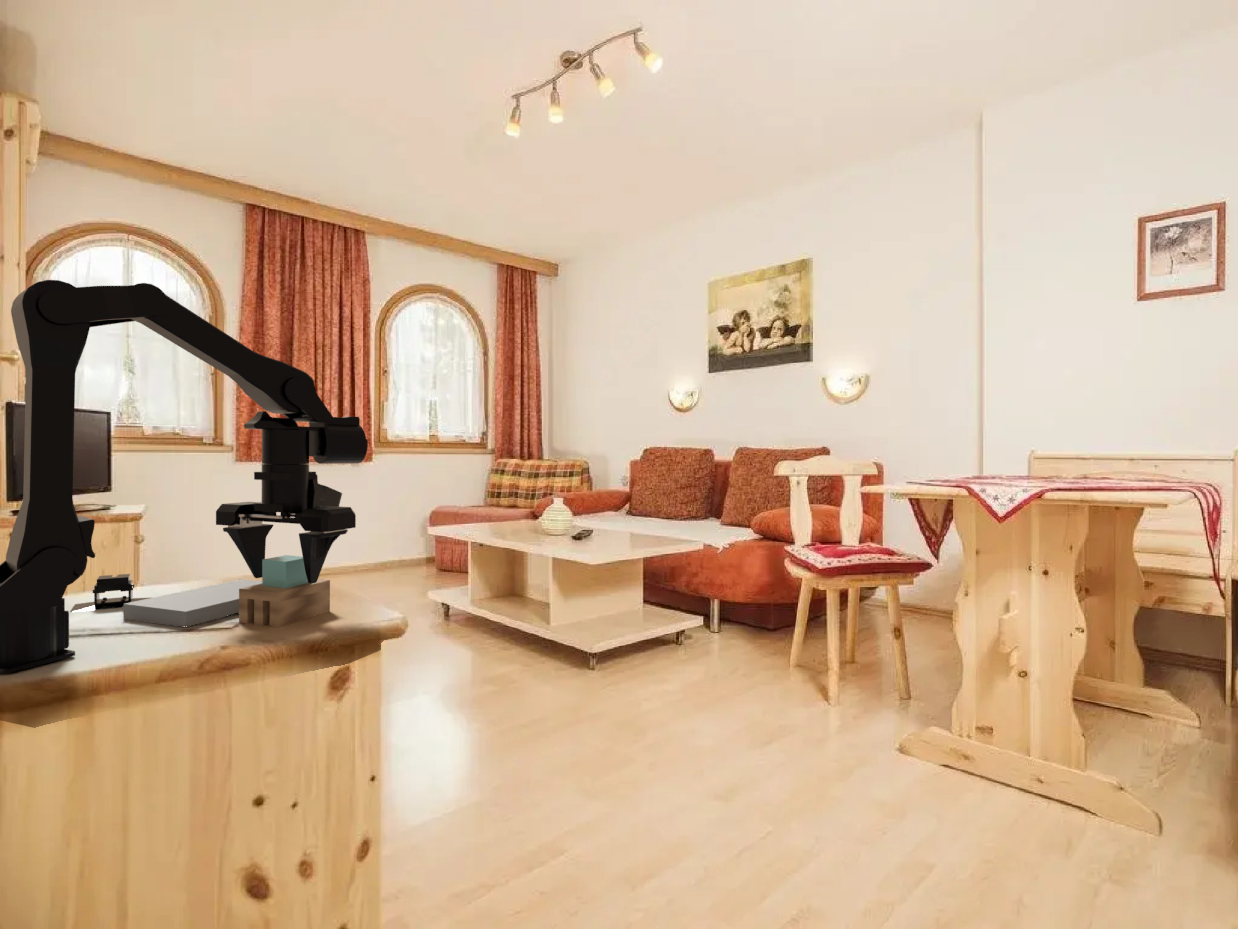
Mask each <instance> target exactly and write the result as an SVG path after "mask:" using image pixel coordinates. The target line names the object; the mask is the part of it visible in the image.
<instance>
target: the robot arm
mask: <svg viewBox="0 0 1238 929" xmlns="http://www.w3.org/2000/svg"><path fill="white" fill-rule="evenodd" d="M10 315H11V320H12V324H13V329H14V334H15V338H16V343H17V346H18V350H19V352H20V355H21V359H22V361H23V365H24V369H25V395H24V396H25V399H24V400H25V401H24V402H25V404H24V405H25V406H24V443H23V445H24V447H23V451H24V453H23V486H22V487H23V489H22V490H23V491H22V492H23V494H22V495H23V497H22V502H21V505H20V508H19V510H18V513H17V516H16V519H15V521H14V524H13V527H12V530H11V534H10V538H9V542H8V547H7V550H6V555H5V560H4V561H3V562H1V563H0V674H10V673H14V672H19V671H22V670H26V669H30V668H34V667H38V666H42V665H45V664H49V663H53V662H56V661H57V662H58V661H61V660H64V659H67V658H72V657H75V656H76V651H75V650H71V649H68V648H69V647H70V611H69V610H67V609H66V608H65V607H66V606H65V605H66V602H65V600H66V599H65V598H64V595H65V592H66V590H67V588H68V586H69V585H71V584H73V583H74V582H76V581H77V580H79V578H80V577H82V576H83V575H84V573H85V571H86V569H87V565H88V557H89V558H91V559H94V558H96V554H95V552H94V550H93V546H92V540H93V534H94V531H95V519H93V518H88V517H85V516H84V515H77V511H76V508H75V506H74V505H75V504H74V500H73V496H74V495H73V493H74V492H73V491H74V488H73V486H74V484H73V483H74V446H75V445H74V444H75V443H74V442H75V438H74V437H75V402H76V400H75V398H76V372H77V369H78V365H79V363H80V360H81V357H82V354H83V352H84V349H85V346H86V344H87V339H88V335H89V331H90V328H94V327H102V326H107V325H110V326H111V325H115V324H121V323H122V324H123V323H131V322H132V323H133V322H137V323H138V324H141V325H143V326H145V327H146V328H147V329H150V330H151V331H153V332H155V333H156V334H157V335H159V336H161V337H162V338H165V339H166V340H168V341H169V342H171V343H173V344H174V345H176V346H177V347H180V348H181V349H183V350H185V351H186V352H188V353H190V354H191V355H193V356H194V357H196V358H197V359H199V360H200V361H202V362H204V363H206V364H208V365H209V366H211V367H213V368H214V369H216V370H218V371H219V372H221V373H222V374H224V375H225V376H227V377H229V378H230V379H231V380H232V381H233V382H234V383H235V384H237V386H239V388H240V389H241V390H242V392H244V394H245V395H246V396H248V398H250V399H251V400H252V401H254V402H255V403H256V404H257V405H258V406H259V407H261V409H263V410H261V411H257V412H256V414H255V415H254V416H253V417H252V418H251V419H249V420H248V421H247V422H245V423H244V424H243V428H244V429H246V430H261V471H254V472H253V476H254V477H253V478H254V479H253V480H255V481H256V480H257V481H261V501H242V502H232V503H231V502H230V503H222V504H221V505H219V507H218V508H217V509H216V510H215V525H216V526H226V527H223V528H222V531H223V532H225V533H227V534H228V537H229V538H231V540H232V542H233V543H234V545H235V547H236V548H237V550H238V551H239V552H240V554H241V556H242V558H243V560H244V562H245V563H246V565H247V567H248V569H249V570H250V572H251V574H252V576H253V577H254V579H262V560H263V559H266V543H267V542H266V540H267V536H268V535H269V533H270V532H271V531H272V529H273V528H274V524H270V523H280V524H294V525H295V524H297V525H300V526H301V528H302V529H303V531H305V532H300V533H298V538H299V543H300V544H299V545H300V548H301V555H302V557H303V561H304V567H305V572H306V576H307V580H308V583H309V584H312V583H316V582H317V580H318V579H319V577H320V575H321V572H322V570H323V568H324V567H323V566H324V564H325V560H326V558H327V555H328V554H329V552H330V549H331V547H332V546H333V543H334V542H335V541H336V540H338V538H339V537H340V536H341V535H346V534H347V533H348V530H349V529H354V528H356V525H357V524H356V521H357V520H356V516H357V515H356V512H355V511H354V510H353V508H352V507H351V506H340V503H341V499H342V496H343V492H340V491H338V490H337V489H334V488H331V487H329V486H326V485H324V484H322V483H321V484H320V483H319V481H318V474H317V471H311V470H310V457H312V458H313V459H314V461H315V462H316V463H318V464H320V465H329V464H330V465H331V464H332V465H337V464H338V465H339V464H343V465H345V464H346V465H348V464H351V465H352V464H356V465H357V464H361V463H362V462H363V461H364V460H365V459H366V455H367V453H368V443H369V442H368V439H367V437H366V433H365V430H364V428H363V427H362V426H361V425H360V424H361V423H360V417H359V416H353V415H352V416H342V417H340V416H333V415H332V413H331V411H329V409H328V407H326V405H325V403H324V402H323V400H322V399H321V397H320V396H319V395H318V393H317V388H316V385H315V380H314V379H313V378H312V376H310V375H309V374H308V373H307V372H305V371H304V370H302V369H299V368H298V367H295V366H293V365H290V364H288V363H287V362H284V361H281V360H278V359H276V358H272V357H269V356H265V355H264V354H260V353H258V352H256V351H254V350H252V349H251V348H249V347H247V346H246V345H244V344H243V343H241V342H240V341H238V340H236V339H235V338H234V337H232V336H230V335H229V334H227V333H225V332H224V331H222V329H219V328H218V327H216V326H215V325H213V324H212V323H210V322H209V321H207V320H205V319H204V318H202V317H201V316H199V315H198V314H196V313H195V312H194V311H192V310H190V309H189V308H187V307H185V306H184V305H182V304H180V303H179V302H177V300H175V299H173V298H172V297H170V296H168V295H167V294H166V293H165V292H164V291H163V290H162V289H161V288H159V287H158V286H156V285H154V284H152V283H146V282H142V283H141V282H140V283H136V284H133V285H93V286H79V287H76V286H74V285H72V284H70V283H69V282H65V281H62V280H59V279H45V280H41V281H37V282H35V283H34V284H32V285H30V286H29V287H27V288H26V289H24V290H23V291H22V292H20V293H19V294H18V295H17V296H15V298H14V299H13V301H12V303H11V309H10ZM268 412H269V413H271V414H274V415H275V414H276V415H278V414H279V415H280V414H281V415H282V416H285V417H273V416H271V415H270V414H269V413H268ZM297 422H298V423H308V426H302V425H301V426H300V425H298V423H297ZM277 513H280V515H278V514H277ZM263 522H264V523H263ZM268 523H269V524H268Z"/></svg>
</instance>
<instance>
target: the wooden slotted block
mask: <svg viewBox="0 0 1238 929" xmlns="http://www.w3.org/2000/svg"><path fill="white" fill-rule="evenodd" d="M329 612H331V580H330V579H323V578H318V580H317V582H316V583H312V584H309V583H306V584H302V585H298V586H294V587H289V588H278V587H269V586H262V584H258V585H253V586H249V587H244V588H240V589H239V613H238V623H244V624H249V623H253V624H254V625H259V626H264V625H268V624H269V627H275V628H280V627H283V626H286V625H289V624H294V623H296V622H300V621H303V620H306V619H311V618H313V617H315V616H320V615H322V614H325V613H329Z"/></svg>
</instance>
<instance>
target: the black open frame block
mask: <svg viewBox="0 0 1238 929" xmlns="http://www.w3.org/2000/svg"><path fill="white" fill-rule="evenodd" d="M133 582H134V581H133V579H131V573H124V574H122V573H121V574H117V575H116V576H113V574H110V575H107V574H106V575H99V576H98V577H97V578H96V583H95V585H94V587H93V589H92V594H94V600H93V601H89V602H82V603H74V605H73V606H72V608H71V609H70V611H69V613H75V612H86V611H87V612H89V611H98V610H99V611H100V610H109V609H120V608H123V604H125V603H130V602H134V601H139V600H144V599H149V598H150V597H134V596H133V594H134V593H133V591H134V588H135V584H133ZM113 591H114V592H117V591H120V592H128V596H127V595H122V597H109V598H107V597H103V598H100V594H105V593H106V592H113ZM133 597H134V598H133Z"/></svg>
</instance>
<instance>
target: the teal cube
mask: <svg viewBox="0 0 1238 929" xmlns="http://www.w3.org/2000/svg"><path fill="white" fill-rule="evenodd" d="M261 580H262V586H269V587H278V588H289V587H294V586H298V585H302V584H306V583H308V580H307V576H306V572H305V567H304V561H303V555H302V556H300V555H290V554H289V555H287V554H286V555H280V556H275V557H270V558H269V557H268V558H265V559H263V560H262V577H261Z"/></svg>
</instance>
